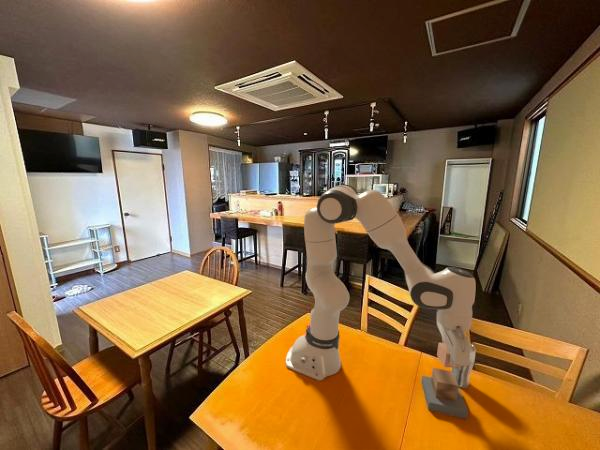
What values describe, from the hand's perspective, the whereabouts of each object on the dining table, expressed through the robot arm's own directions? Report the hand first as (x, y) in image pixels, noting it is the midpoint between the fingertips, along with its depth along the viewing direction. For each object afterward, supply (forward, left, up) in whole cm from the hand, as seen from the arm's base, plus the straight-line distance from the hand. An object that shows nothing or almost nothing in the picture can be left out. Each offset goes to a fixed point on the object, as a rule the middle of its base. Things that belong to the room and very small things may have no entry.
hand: (448, 356), depth 78 cm
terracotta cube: (0, 0, -2) cm, 2 cm away
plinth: (0, 0, -17) cm, 17 cm away
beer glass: (+8, +10, -17) cm, 21 cm away
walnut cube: (0, 0, -14) cm, 14 cm away
